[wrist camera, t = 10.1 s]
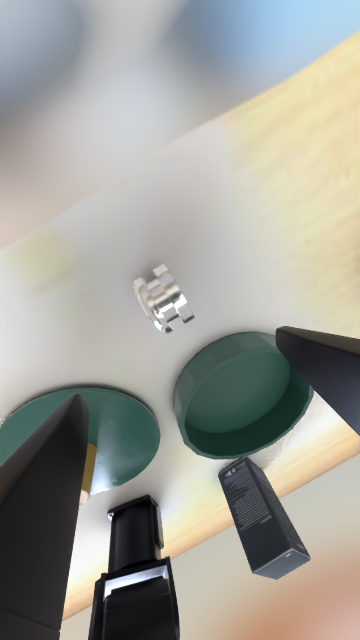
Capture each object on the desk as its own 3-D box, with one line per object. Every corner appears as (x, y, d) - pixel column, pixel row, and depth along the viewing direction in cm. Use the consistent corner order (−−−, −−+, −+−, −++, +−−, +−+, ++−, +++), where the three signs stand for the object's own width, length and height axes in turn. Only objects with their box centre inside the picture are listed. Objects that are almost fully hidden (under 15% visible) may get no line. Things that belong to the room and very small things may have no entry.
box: (216, 473, 32) (251, 575, 22) (245, 454, 31) (293, 549, 22) (238, 489, 35) (276, 582, 26) (264, 471, 35) (313, 560, 25)
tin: (188, 449, 28) (195, 476, 25) (157, 357, 21) (162, 378, 18) (291, 411, 30) (309, 431, 27) (295, 313, 23) (321, 326, 19)
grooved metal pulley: (185, 306, 19) (201, 328, 15) (159, 321, 19) (167, 348, 15) (159, 259, 17) (169, 269, 13) (129, 277, 17) (129, 293, 13)
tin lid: (49, 503, 26) (29, 567, 21) (-42, 418, 19) (-105, 485, 14) (172, 457, 28) (181, 506, 23) (134, 362, 21) (135, 403, 16)
